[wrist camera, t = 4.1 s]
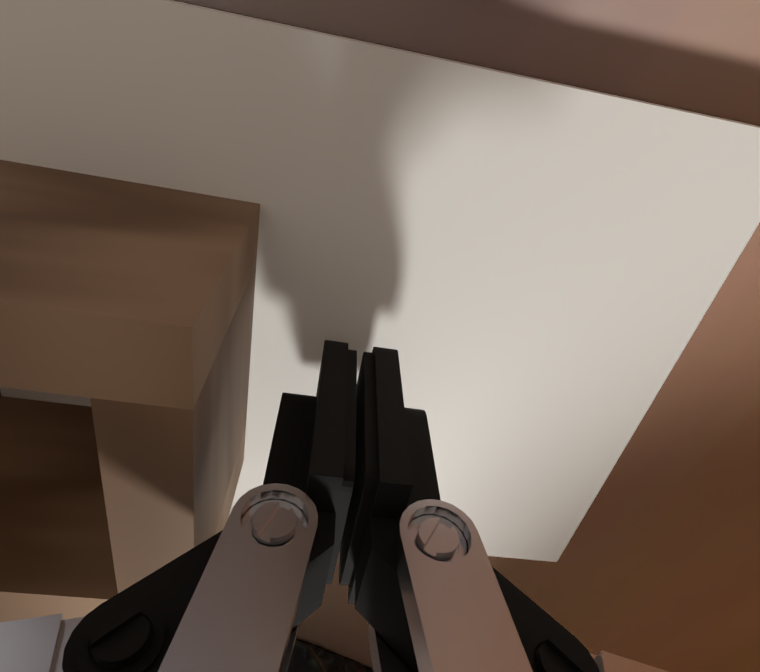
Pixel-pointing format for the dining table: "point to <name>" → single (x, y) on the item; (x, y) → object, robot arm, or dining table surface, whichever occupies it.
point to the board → (412, 227)
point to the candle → (320, 660)
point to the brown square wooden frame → (116, 380)
